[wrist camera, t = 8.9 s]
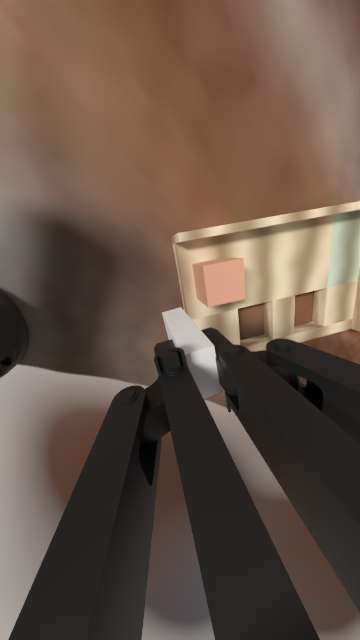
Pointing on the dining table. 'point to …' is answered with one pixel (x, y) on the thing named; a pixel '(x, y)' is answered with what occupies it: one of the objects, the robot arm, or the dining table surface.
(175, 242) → the cube sorting tray
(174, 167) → the dining table surface
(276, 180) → the dining table surface
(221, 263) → the salmon block
